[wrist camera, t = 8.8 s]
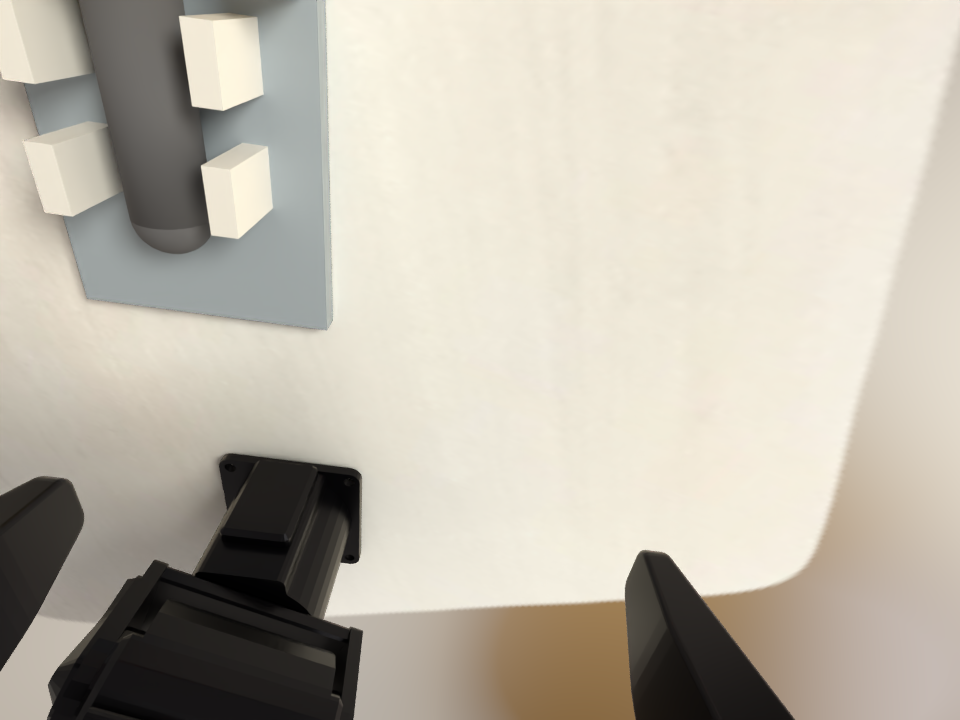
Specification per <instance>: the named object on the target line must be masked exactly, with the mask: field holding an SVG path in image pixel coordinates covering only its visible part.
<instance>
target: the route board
mask: <svg viewBox="0 0 960 720" xmlns="http://www.w3.org/2000/svg"><path fill="white" fill-rule="evenodd" d="M183 3H184V10H185V16H179V21H180V28H181V34H182V41H183V48H184V55H185V61H186V68H187V75H188V82H189V89H190V95H191V102H192V106H193V107H199V112H200V118H201V125H202V132H203V139H204V145H205V152H206V159H207V163H205V164H203V165H201V170H202V177H203V184H204V190H205V197H206V204H207V211H208V217H209V224H210V231H211V237H210V238H209V239H208V241H207V242H206V243H205V244H204V245H203V246H201V247H200V248H198V249H197V250H194V251H192V252H189V253H185V254H171V253H165V252H161V251H159V250H157V249H155V248H152V247H151V246H149V245H148V244H147V243H145V242H144V241H143V240H142V239H141V238H140V237H139V236H138V235H137V233H136V231H135V230H134V228H133V226H132V224H131V221H130V218H129V214H128V209H127V205H126V201H125V196H124V192H123V188H122V184H121V179H120V175H119V171H118V167H117V162H116V158H115V154H114V150H113V145H112V141H111V137H110V133H109V128H108V124H107V120H106V116H105V111H104V107H103V103H102V98H101V94H100V90H99V86H98V81H97V77H96V73H95V69H94V64H93V60H92V56H91V52H90V47H89V43H88V39H87V35H86V30H85V26H84V22H83V18H82V13H81V9H80V5H79V0H0V71H1V75H2V78H3V80H10V81H17V82H24V85H25V89H26V92H27V96H28V99H29V102H30V106H31V109H32V113H33V116H34V119H35V123H36V126H37V130H38V133H39V136H36V137H33V138H30V139H26V140H23V141H22V142H23V145H24V148H25V151H26V155H27V158H28V161H29V164H30V167H31V171H32V174H33V177H34V180H35V183H36V187H37V190H38V193H39V196H40V199H41V203H42V206H43V209H44V212H45V213H50V214H58V215H63V218H64V221H65V225H66V228H67V231H68V235H69V238H70V242H71V245H72V248H73V252H74V255H75V258H76V262H77V265H78V269H79V272H80V275H81V279H82V282H83V286H84V289H85V292H86V296H87V299H93V300H101V301H108V302H116V303H123V304H131V305H139V306H146V307H154V308H162V309H169V310H177V311H184V312H192V313H200V314H207V315H215V316H222V317H230V318H238V319H245V320H253V321H260V322H268V323H276V324H283V325H291V326H298V327H306V328H314V329H321V330H328V328H329V326H330V324H331V322H332V321H333V307H332V264H331V222H330V180H329V138H328V96H327V53H326V11H325V0H183Z"/></svg>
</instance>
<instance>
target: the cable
mask: <svg viewBox="0 0 960 720" xmlns="http://www.w3.org/2000/svg"><path fill="white" fill-rule="evenodd" d="M79 5H80V9H81V13H82V18H83V22H84V26H85V30H86V35H87V39H88V43H89V47H90V52H91V56H92V60H93V64H94V69H95V73H96V77H97V81H98V86H99V90H100V94H101V98H102V103H103V107H104V111H105V116H106V120H107V124H108V128H109V133H110V137H111V141H112V145H113V150H114V154H115V158H116V162H117V167H118V171H119V175H120V179H121V184H122V188H123V192H124V196H125V201H126V205H127V209H128V214H129V218H130V221H131V224H132V226H133V228H134V230H135V231H136V233H137V235H138V236H139V237H140V238H141V239H142V240H143V241H144V242H145V243H147V244H148V245H149V246H151V247H152V248H155V249H157V250H159V251H161V252H165V253H171V254H185V253H189V252H192V251H194V250H197V249H198V248H200V247H201V246H203V245H204V244H205V243H206V242H207V241H208V239H209V238H210V237H211V231H210V224H209V217H208V211H207V204H206V197H205V190H204V184H203V177H202V170H201V165H203V164H205V163H207V159H206V152H205V145H204V139H203V132H202V125H201V118H200V112H199V107H193V106H192V102H191V95H190V89H189V82H188V75H187V68H186V61H185V55H184V48H183V41H182V34H181V28H180V21H179V16H185V10H184V3H183V0H79Z"/></svg>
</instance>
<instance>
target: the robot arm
mask: <svg viewBox="0 0 960 720" xmlns="http://www.w3.org/2000/svg"><path fill="white" fill-rule="evenodd" d="M231 464H232V465H231ZM219 468H220V473H221V479H222V484H223V490H224V495H225V501H226V506H227V512H226V514H225V516H224V518H223V519H222V521H221V523H220V525H219V527H218V528H217V530H216V532H215V534H214V536H213V537H212V539H211V541H210V543H209V545H208V547H207V548H206V550H205V552H204V554H203V556H202V557H201V559H200V561H199V563H198V565H197V567H196V568H195V570H194V572H193V574H192V575H191V574H188V573H185V572H182V571H179V570H176V569H173V568H170V567H168V565H169V564H167V563H164V562H161V561H158V560H154V561H153V563H152V564H151V565H150V567H149V568H148V570H147V571H146V572H145V574H144V575H143V577H142V576H139V575H138V576H137V577H136V578H133V579H128V580H127V581H126V583H125V584H124V586H123V587H122V589H121V590H120V592H119V593H118V595H117V596H116V598H115V599H114V601H113V602H112V604H111V605H110V607H109V608H108V610H107V611H106V613H105V614H104V615H103V617H102V618H101V619H100V621H99V622H98V623H97V624H96V625H95V627H94V628H93V629H92V630H91V631H90V632H89V633H88V634H87V636H86V637H85V638H84V639H83V640H82V641H81V642H80V643H79V644H78V646H77V647H76V648H75V649H74V650H73V651H72V652H71V653H70V655H69V656H68V657H67V658H66V659H65V660H64V661H63V662H62V664H61V665H60V666H59V667H58V668H57V670H56V671H55V673H54V675H53V676H52V678H51V680H50V682H49V684H48V688H49V692H50V696H51V700H52V704H53V706H52V708H51V710H50V712H49V715H48V717H47V720H353V718H354V708H355V699H356V691H357V681H358V672H359V662H360V654H361V644H362V635H363V631H362V630H359V629H356V628H353V627H350V628H346V627H343V626H340V625H337V624H335V623H331V622H328V621H326V620H323V619H324V615H325V612H326V609H327V605H328V602H329V599H330V595H331V592H332V589H333V585H334V582H335V579H336V576H337V572H338V569H339V566H340V563H348V564H354V563H357V562H358V561H359V558H360V554H361V507H362V476H361V474H360V473H359V472H358V471H357V470H354V469H350V468H342V467H334V466H326V465H318V464H310V463H302V462H294V461H286V460H278V459H270V458H262V457H254V456H246V455H238V454H227V455H225V456H224V457H223V459H222V460H221V462H220V464H219ZM349 479H352V480H349ZM83 523H84V512H83V509H82V507H81V504H80V502H79V499H78V497H77V494H76V491H75V489H74V486H73V484H72V483H71V482H70V481H69V480H68V479H64V478H57V477H48V476H41V477H37V478H34V479H32V480H30V481H28V482H26V483H24V484H22V485H20V486H18V487H16V488H14V489H12V490H10V491H9V492H7V493H5V494H3V495H1V496H0V671H1V670H2V668H3V666H4V665H5V663H6V662H7V660H8V659H9V657H10V656H11V654H12V652H13V651H14V650H15V648H16V647H17V645H18V643H19V642H20V641H21V639H22V638H23V636H24V634H25V633H26V631H27V630H28V628H29V626H30V625H31V623H32V621H33V619H34V618H35V616H36V614H37V613H38V611H39V609H40V607H41V605H42V604H43V602H44V600H45V598H46V596H47V594H48V592H49V590H50V588H51V586H52V585H53V583H54V581H55V579H56V577H57V575H58V573H59V571H60V569H61V567H62V566H63V564H64V562H65V560H66V558H67V556H68V554H69V552H70V550H71V548H72V547H73V545H74V543H75V541H76V539H77V537H78V535H79V533H80V531H81V529H82V526H83ZM625 605H626V621H627V636H628V650H629V667H630V680H631V692H632V699H633V706H634V712H635V718H636V720H795V719H794V718H793V716H792V715H791V714H790V712H789V711H788V710H787V708H786V707H785V706H784V705H783V703H782V702H781V701H780V700H779V698H778V697H777V695H776V694H775V693H774V692H773V690H772V689H771V688H770V686H769V685H768V684H767V682H766V681H765V680H764V678H763V677H762V676H761V675H760V673H759V672H758V671H757V669H756V668H755V667H754V666H753V664H752V663H751V662H750V660H749V659H748V658H747V656H746V655H745V654H744V653H743V651H742V650H741V649H740V647H739V646H738V645H737V643H736V642H735V641H734V639H733V638H732V637H731V636H730V634H729V633H728V632H727V630H726V629H725V628H724V626H723V625H722V624H721V623H720V621H719V620H718V619H717V617H716V616H715V615H714V614H713V612H712V611H711V610H710V608H709V607H708V606H707V604H706V603H705V602H704V600H703V599H702V598H701V596H700V595H699V594H698V593H697V591H696V590H695V589H694V587H693V586H692V585H691V583H690V582H689V581H688V580H687V578H686V577H685V576H684V574H683V573H682V572H681V570H680V569H679V568H678V567H677V565H676V564H675V563H674V561H673V560H672V559H671V558H670V556H668V555H667V554H666V553H663V552H657V551H649V550H642V551H641V552H639V554H638V555H637V558H636V560H635V562H634V564H633V567H632V569H631V571H630V573H629V576H628V578H627V581H626V585H625Z"/></svg>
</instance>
